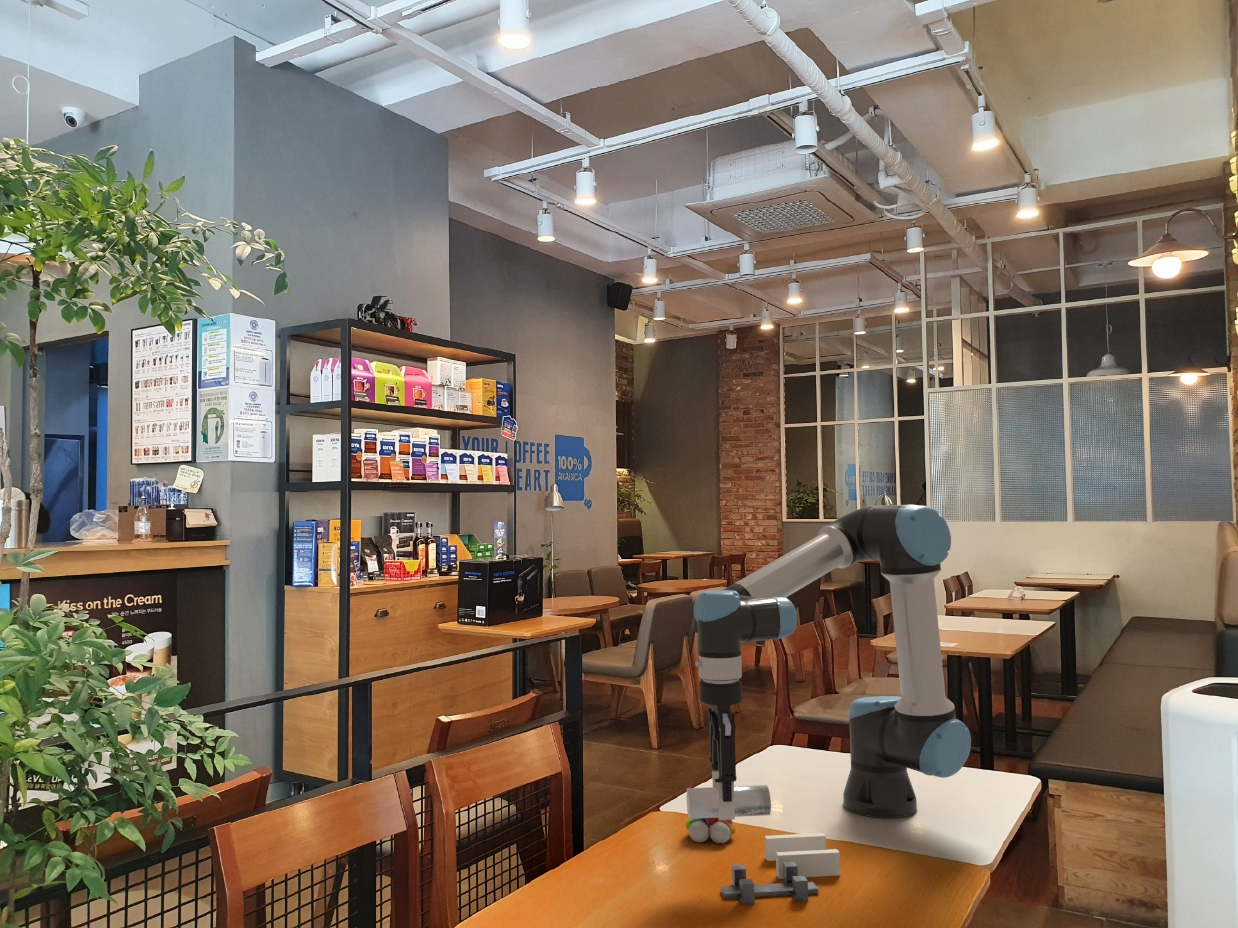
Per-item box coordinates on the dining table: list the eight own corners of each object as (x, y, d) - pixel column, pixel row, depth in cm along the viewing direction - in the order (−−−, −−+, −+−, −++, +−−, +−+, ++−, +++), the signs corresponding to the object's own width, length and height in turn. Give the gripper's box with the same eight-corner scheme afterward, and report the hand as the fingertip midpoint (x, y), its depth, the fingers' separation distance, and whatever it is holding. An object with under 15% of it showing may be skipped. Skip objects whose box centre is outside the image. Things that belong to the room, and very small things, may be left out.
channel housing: (823, 854, 170) (822, 832, 170) (840, 875, 161) (839, 852, 161) (765, 857, 169) (764, 835, 169) (778, 878, 160) (778, 855, 160)
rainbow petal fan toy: (734, 847, 175) (733, 808, 175) (683, 844, 177) (683, 806, 177) (736, 831, 183) (736, 794, 184) (688, 828, 185) (687, 792, 186)
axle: (766, 816, 162) (763, 786, 164) (772, 814, 157) (768, 783, 160) (687, 819, 161) (685, 789, 163) (691, 817, 157) (689, 786, 159)
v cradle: (808, 880, 159) (808, 860, 159) (823, 899, 151) (822, 879, 151) (718, 885, 158) (717, 865, 158) (727, 905, 150) (727, 884, 150)
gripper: (691, 670, 170) (695, 797, 169) (707, 690, 152) (710, 832, 151) (732, 669, 170) (735, 795, 169) (751, 688, 152) (755, 830, 151)
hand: (723, 812), depth 160 cm, fingers closed on axle, 5 cm apart
